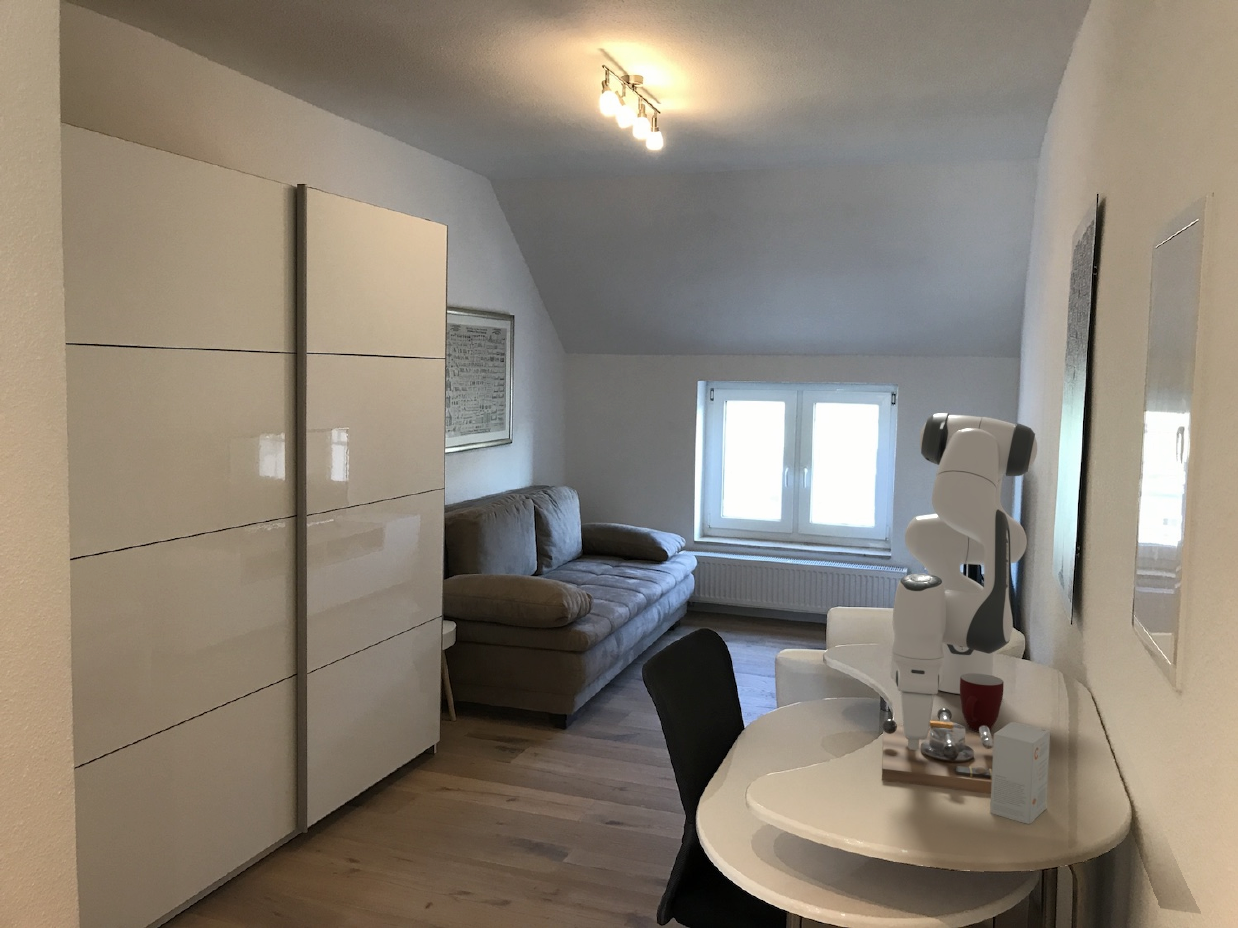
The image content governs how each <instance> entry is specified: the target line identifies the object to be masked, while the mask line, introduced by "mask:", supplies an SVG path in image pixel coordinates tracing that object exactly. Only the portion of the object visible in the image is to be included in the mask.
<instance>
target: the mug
mask: <svg viewBox="0 0 1238 928" xmlns="http://www.w3.org/2000/svg"><path fill="white" fill-rule="evenodd" d="M1004 684H1005V683H1004V680H1003V679H1002V678H1000V677H998V676H995V675H994V676H991V675H986V674H975V673H971V674H964V675H962V676H961V677H960V694H959V695H960V703H961V710H962V715H963V718H964V721H965V722H966V724H967V727H968V728H969V729H970V730H972V731H974V732H978V733H979V728H980V727H981V726H987V727H988V728H989V730H990V731H991V730H992V728H993V727H994V725H995V723H997V722H996V721H997V720H998V718H999V713H1000V710H1001V706H1002V700H1003V696H1004V686H1005V685H1004Z"/></svg>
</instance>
